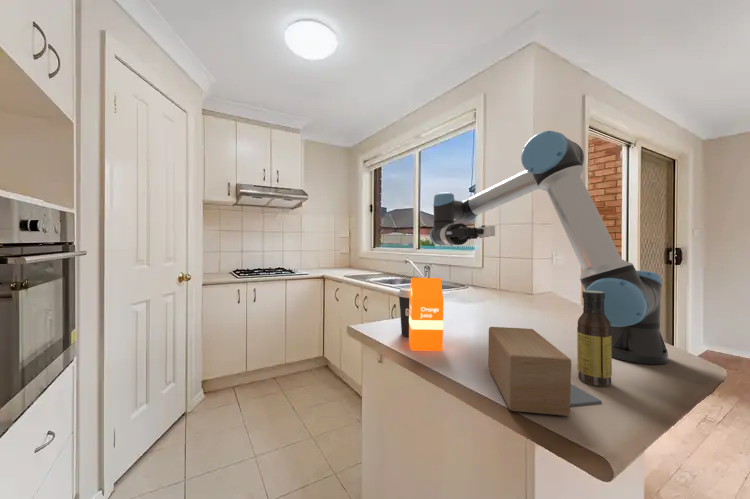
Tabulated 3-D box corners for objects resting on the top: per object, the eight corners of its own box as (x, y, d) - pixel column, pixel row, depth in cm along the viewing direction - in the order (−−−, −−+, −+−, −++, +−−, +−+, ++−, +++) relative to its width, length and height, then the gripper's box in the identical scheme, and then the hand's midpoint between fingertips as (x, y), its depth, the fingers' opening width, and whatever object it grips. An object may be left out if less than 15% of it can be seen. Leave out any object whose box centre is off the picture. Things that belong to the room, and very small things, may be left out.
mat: (501, 376, 71) (501, 374, 71) (547, 372, 73) (547, 371, 73) (546, 408, 57) (546, 406, 57) (601, 402, 60) (601, 400, 60)
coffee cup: (395, 338, 99) (396, 290, 99) (398, 330, 108) (399, 286, 108) (426, 340, 97) (427, 291, 97) (426, 331, 107) (427, 287, 107)
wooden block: (532, 370, 74) (571, 417, 54) (487, 367, 75) (509, 411, 55) (533, 328, 73) (572, 359, 54) (488, 326, 75) (510, 355, 55)
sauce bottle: (602, 376, 72) (604, 289, 71) (617, 389, 65) (620, 294, 65) (571, 374, 73) (573, 288, 73) (583, 386, 67) (585, 292, 66)
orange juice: (408, 342, 95) (409, 276, 95) (437, 342, 95) (438, 276, 95) (411, 350, 88) (412, 279, 87) (443, 351, 88) (444, 279, 87)
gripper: (472, 245, 110) (513, 244, 87) (437, 244, 108) (470, 244, 85) (472, 223, 110) (514, 217, 87) (437, 223, 108) (470, 216, 85)
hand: (492, 231), depth 86 cm, fingers closed
